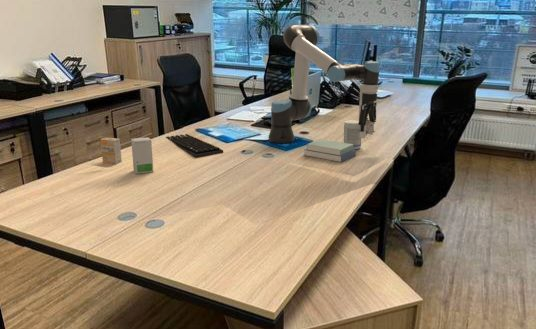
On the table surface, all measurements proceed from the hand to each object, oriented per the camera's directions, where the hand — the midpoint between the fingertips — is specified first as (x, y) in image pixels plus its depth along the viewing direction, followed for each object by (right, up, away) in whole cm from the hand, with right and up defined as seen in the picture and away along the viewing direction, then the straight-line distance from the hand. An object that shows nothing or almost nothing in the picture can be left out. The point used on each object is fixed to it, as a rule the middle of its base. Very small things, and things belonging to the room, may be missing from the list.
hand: (366, 135), depth 233 cm
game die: (0, -1, 0) cm, 1 cm away
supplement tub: (-5, -6, +15) cm, 17 cm away
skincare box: (-110, -18, -24) cm, 114 cm away
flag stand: (+8, +7, +56) cm, 57 cm away
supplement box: (-129, -15, -12) cm, 130 cm away
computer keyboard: (-95, -6, +18) cm, 96 cm away
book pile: (-19, -10, 0) cm, 22 cm away
